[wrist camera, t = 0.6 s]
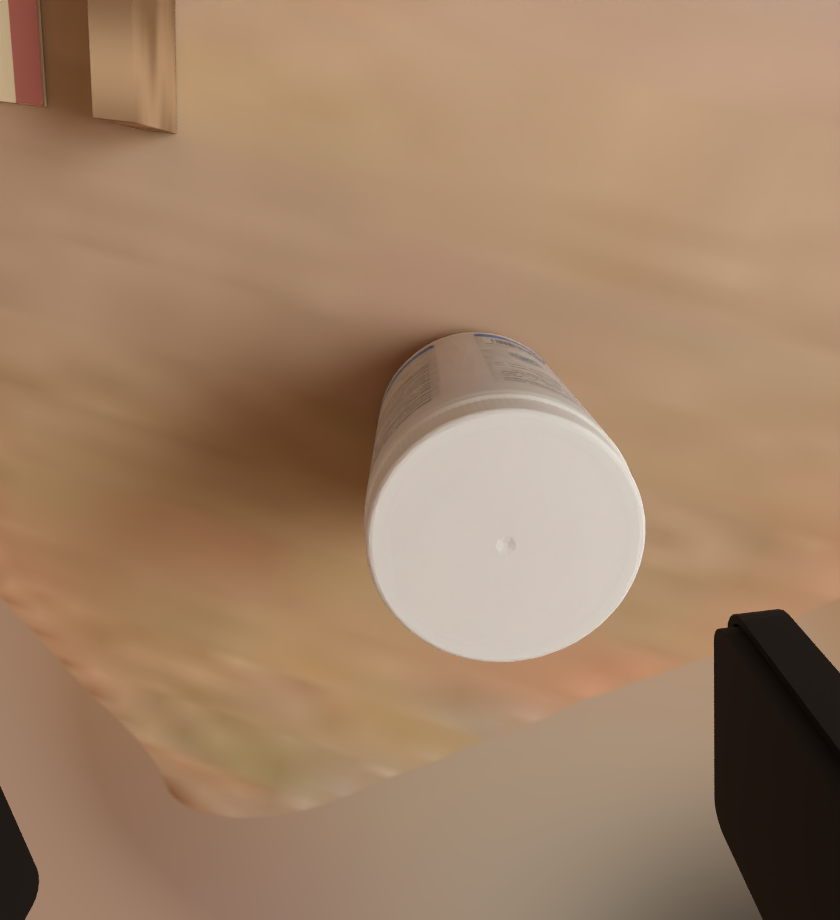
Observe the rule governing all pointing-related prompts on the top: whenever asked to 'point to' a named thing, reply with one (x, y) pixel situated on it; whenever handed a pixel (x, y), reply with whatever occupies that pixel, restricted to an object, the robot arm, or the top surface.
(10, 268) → the top surface
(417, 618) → the supplement tub
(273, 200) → the top surface
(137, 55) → the tan rectangular block
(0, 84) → the notepad
